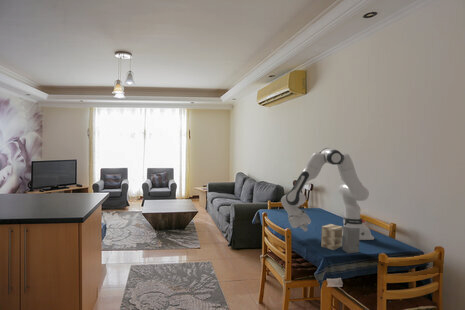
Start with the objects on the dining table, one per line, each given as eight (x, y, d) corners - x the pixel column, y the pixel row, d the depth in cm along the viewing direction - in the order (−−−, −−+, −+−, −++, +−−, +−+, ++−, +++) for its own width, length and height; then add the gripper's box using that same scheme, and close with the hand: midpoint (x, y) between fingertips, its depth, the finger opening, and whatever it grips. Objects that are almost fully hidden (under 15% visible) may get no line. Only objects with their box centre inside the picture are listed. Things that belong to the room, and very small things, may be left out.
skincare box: (348, 253, 191) (348, 228, 190) (341, 249, 198) (342, 225, 197) (359, 252, 193) (360, 228, 192) (352, 248, 200) (353, 225, 199)
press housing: (321, 246, 203) (321, 226, 202) (329, 243, 210) (330, 223, 210) (333, 250, 196) (334, 229, 196) (341, 246, 204) (342, 226, 203)
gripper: (289, 214, 215) (300, 230, 209) (305, 210, 229) (316, 226, 223) (284, 219, 219) (295, 235, 212) (300, 215, 233) (311, 230, 226)
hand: (306, 230), depth 217 cm, fingers closed
